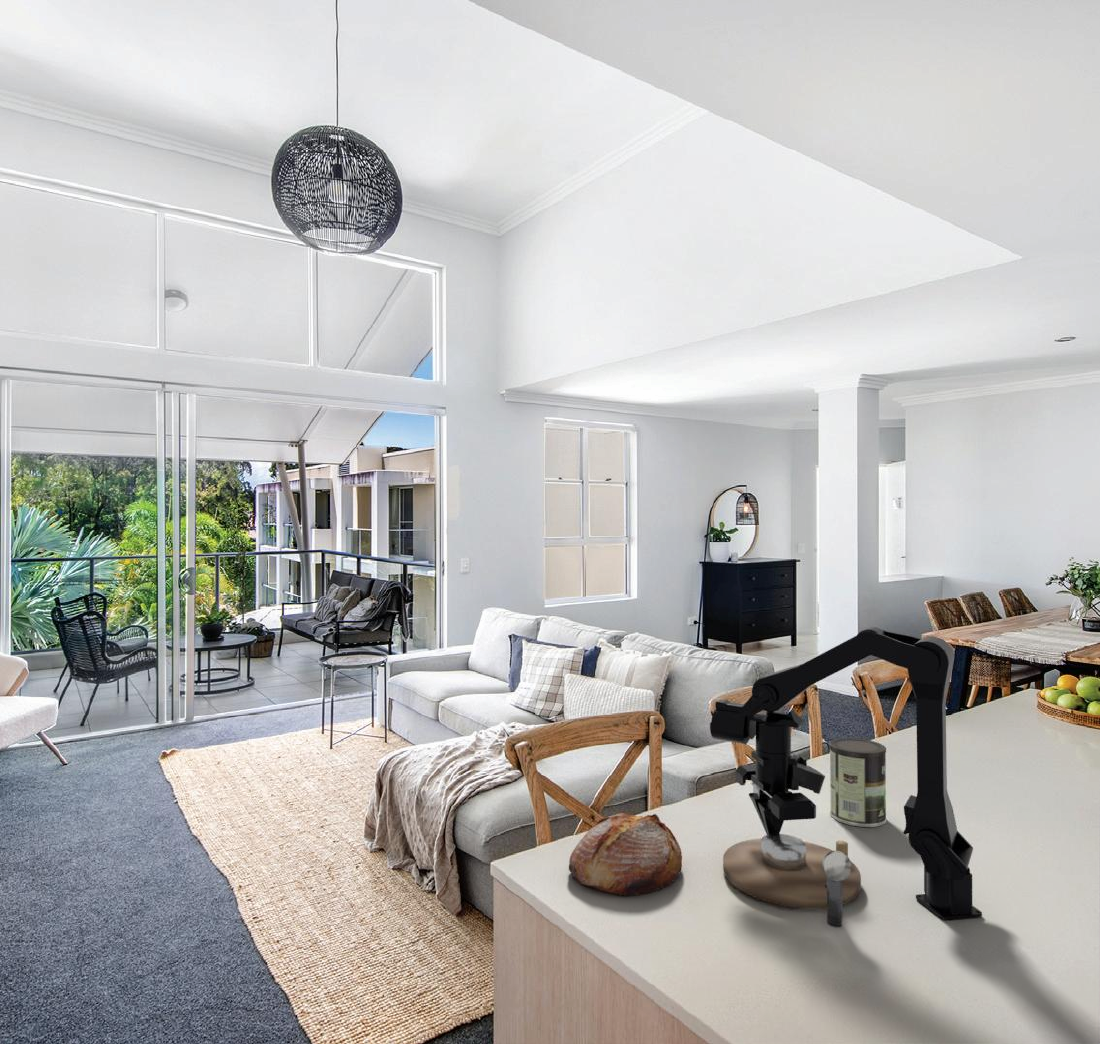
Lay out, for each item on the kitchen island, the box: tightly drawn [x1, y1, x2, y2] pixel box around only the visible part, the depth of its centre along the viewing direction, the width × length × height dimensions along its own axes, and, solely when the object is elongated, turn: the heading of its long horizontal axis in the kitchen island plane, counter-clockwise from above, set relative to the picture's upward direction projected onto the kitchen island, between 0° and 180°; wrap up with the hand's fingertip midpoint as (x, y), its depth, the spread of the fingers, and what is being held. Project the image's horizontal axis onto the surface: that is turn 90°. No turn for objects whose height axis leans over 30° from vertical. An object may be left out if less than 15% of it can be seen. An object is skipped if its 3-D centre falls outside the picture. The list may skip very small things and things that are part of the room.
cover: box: [761, 833, 806, 871], centre depth 121 cm, size 7×7×3 cm
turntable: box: [722, 837, 862, 909], centre depth 119 cm, size 21×21×4 cm
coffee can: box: [828, 737, 887, 828], centre depth 145 cm, size 10×10×14 cm
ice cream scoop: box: [822, 850, 852, 928], centre depth 107 cm, size 3×4×10 cm
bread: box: [568, 812, 683, 897], centre depth 122 cm, size 16×20×10 cm
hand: (772, 841), depth 125 cm, fingers closed
